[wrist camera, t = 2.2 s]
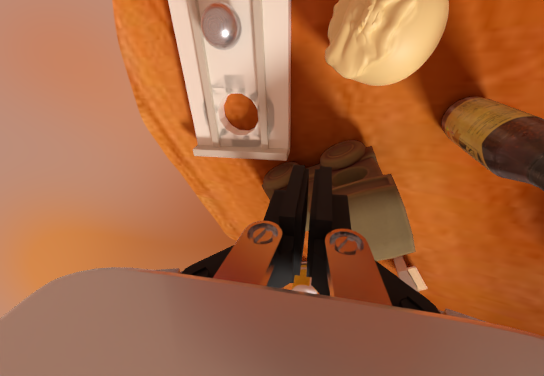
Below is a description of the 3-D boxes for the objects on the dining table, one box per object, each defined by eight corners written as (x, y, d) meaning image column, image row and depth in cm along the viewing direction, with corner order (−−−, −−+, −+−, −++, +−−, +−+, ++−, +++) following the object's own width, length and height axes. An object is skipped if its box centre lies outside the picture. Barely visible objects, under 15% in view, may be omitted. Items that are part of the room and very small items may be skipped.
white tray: (173, -23, 32) (152, -30, 29) (291, -34, 29) (285, -45, 26) (205, 145, 45) (194, 155, 41) (290, 149, 42) (286, 160, 38)
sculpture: (357, -48, 28) (371, -88, 19) (451, -4, 28) (508, -24, 19) (313, 57, 34) (308, 65, 25) (390, 92, 34) (411, 111, 25)
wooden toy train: (372, 126, 37) (396, 179, 23) (390, 186, 42) (419, 259, 28) (261, 168, 45) (231, 225, 31) (286, 214, 50) (270, 282, 36)
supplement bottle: (291, 268, 58) (284, 306, 50) (304, 257, 55) (299, 295, 47) (309, 279, 59) (305, 318, 51) (323, 268, 56) (322, 308, 48)
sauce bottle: (430, 132, 36) (515, 213, 19) (456, 89, 33) (586, 142, 16) (474, 143, 36) (600, 236, 19) (505, 101, 32) (691, 168, 16)
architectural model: (409, 252, 49) (421, 283, 43) (421, 273, 51) (434, 306, 45) (392, 256, 50) (401, 287, 44) (404, 277, 53) (414, 309, 47)
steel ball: (207, 5, 31) (189, 0, 27) (244, 2, 30) (231, -3, 26) (214, 50, 34) (197, 51, 30) (248, 48, 33) (236, 50, 29)
